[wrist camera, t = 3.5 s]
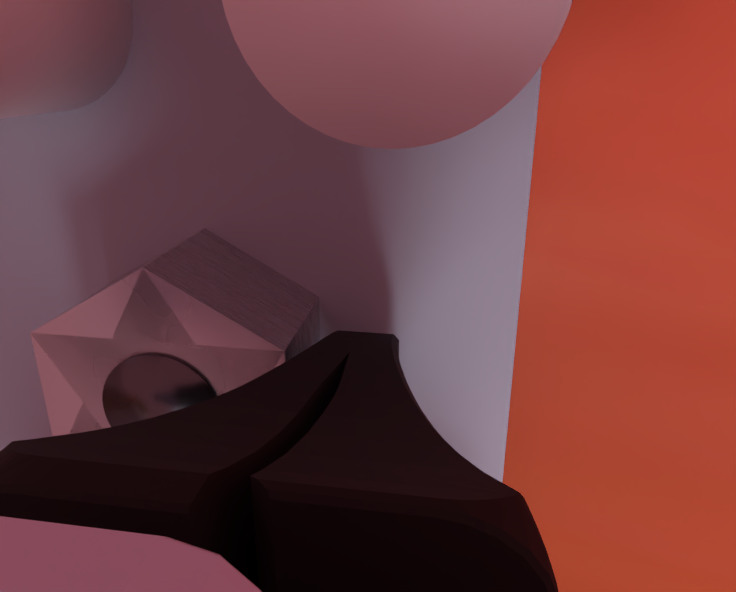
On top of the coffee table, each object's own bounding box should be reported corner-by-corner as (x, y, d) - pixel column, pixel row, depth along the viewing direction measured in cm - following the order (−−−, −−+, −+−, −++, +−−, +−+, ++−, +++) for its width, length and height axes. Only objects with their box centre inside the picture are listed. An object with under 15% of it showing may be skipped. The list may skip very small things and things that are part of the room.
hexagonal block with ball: (375, 387, 13) (353, 461, 11) (182, 470, 14) (126, 550, 12) (258, 197, 12) (204, 231, 9) (64, 310, 13) (-23, 363, 11)
